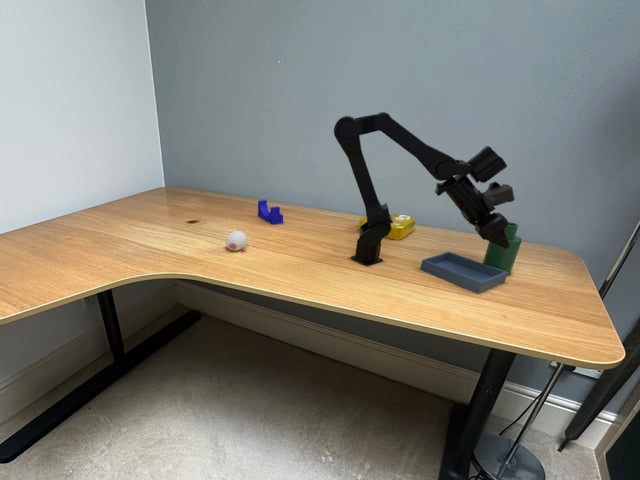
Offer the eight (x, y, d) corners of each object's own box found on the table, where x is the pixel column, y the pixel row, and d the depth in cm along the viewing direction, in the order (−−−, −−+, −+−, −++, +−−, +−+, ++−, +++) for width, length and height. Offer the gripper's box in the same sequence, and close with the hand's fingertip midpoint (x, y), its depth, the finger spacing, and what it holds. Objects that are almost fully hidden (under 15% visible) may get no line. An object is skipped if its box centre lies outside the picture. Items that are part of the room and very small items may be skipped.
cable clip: (283, 223, 137) (283, 206, 134) (272, 224, 135) (272, 208, 132) (268, 214, 146) (268, 199, 144) (258, 216, 145) (258, 200, 142)
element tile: (374, 221, 138) (376, 208, 136) (415, 229, 130) (417, 216, 128) (356, 231, 128) (357, 218, 126) (399, 241, 119) (401, 226, 117)
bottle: (501, 278, 95) (517, 230, 89) (475, 269, 100) (489, 222, 94) (515, 272, 98) (532, 225, 92) (489, 264, 103) (504, 218, 97)
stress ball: (238, 254, 118) (228, 235, 118) (256, 245, 113) (246, 225, 113) (224, 261, 113) (213, 242, 112) (242, 251, 107) (231, 231, 107)
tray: (478, 293, 88) (481, 283, 87) (419, 269, 100) (422, 259, 99) (504, 282, 93) (508, 272, 92) (446, 260, 105) (448, 251, 104)
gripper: (511, 181, 81) (551, 233, 83) (485, 166, 97) (519, 210, 99) (462, 214, 86) (501, 262, 89) (446, 195, 102) (479, 236, 105)
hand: (501, 241), depth 95 cm, fingers open, 9 cm apart
